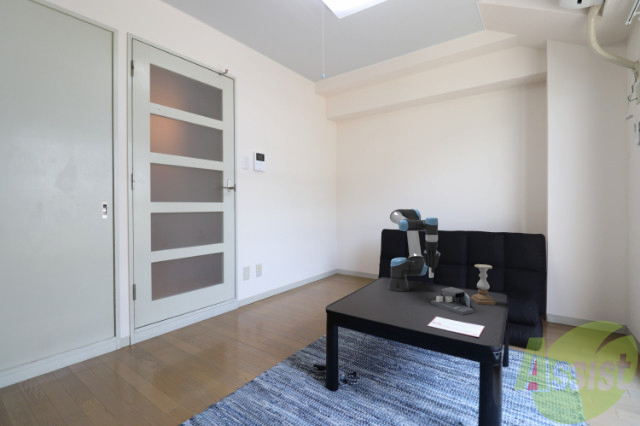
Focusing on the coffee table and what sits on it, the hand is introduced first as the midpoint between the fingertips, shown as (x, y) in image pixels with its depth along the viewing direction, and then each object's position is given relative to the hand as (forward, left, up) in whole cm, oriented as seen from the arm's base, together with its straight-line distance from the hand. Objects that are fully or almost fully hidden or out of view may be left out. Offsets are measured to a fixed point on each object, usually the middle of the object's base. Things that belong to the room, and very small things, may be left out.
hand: (431, 277), depth 186 cm
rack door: (+16, +15, -16) cm, 27 cm away
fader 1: (+6, 0, -14) cm, 15 cm away
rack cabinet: (+6, +13, -16) cm, 22 cm away
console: (+13, +2, -16) cm, 21 cm away
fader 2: (+9, +5, -14) cm, 18 cm away
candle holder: (+15, +31, -17) cm, 38 cm away
